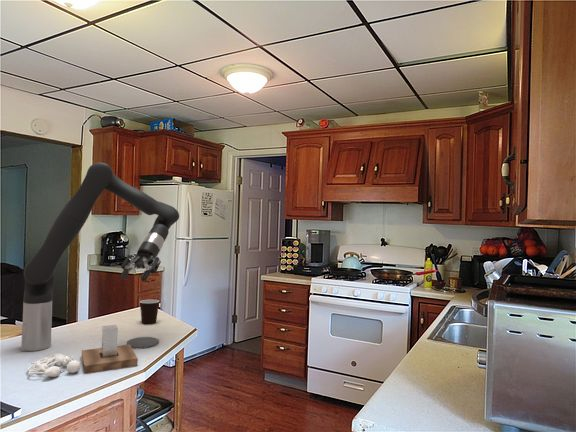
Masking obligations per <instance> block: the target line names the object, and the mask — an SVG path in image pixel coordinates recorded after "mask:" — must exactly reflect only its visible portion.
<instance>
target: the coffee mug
mask: <svg viewBox="0 0 576 432" xmlns="http://www.w3.org/2000/svg"><path fill="white" fill-rule="evenodd" d="M159 307H160V300H159V299H143V300H140V301H139V308H140V316H141V317H140V318H141V324H142V325H154V324H156V323H157V321H158V320H157V319H158V313H159Z"/></svg>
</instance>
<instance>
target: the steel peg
mask: <svg viewBox="0 0 576 432" xmlns="http://www.w3.org/2000/svg"><path fill="white" fill-rule="evenodd" d="M101 332H102V333H101V348H102V352H101V358H106V357H113V356H117V346H118V339H119V338H118V336H119V334H118V333H119V327H118V325H117V324H110V325H109V324H108V325H102V329H101Z"/></svg>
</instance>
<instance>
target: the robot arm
mask: <svg viewBox="0 0 576 432" xmlns="http://www.w3.org/2000/svg"><path fill="white" fill-rule="evenodd" d="M104 190H106V191H108V192H110V193H112V194H114V195H116V196H117V197H119V198H120V199H123V201H125V202H127V204H130V205H131V206H132V207H135V208H136V209H137V210H139V211H140V212H142V213H144V214H145V215H148V216H153V215H157V217H156V218H155V220H154V223H153V226H152V228H151V229H150V230H149V232H148V233H147V235H146V236H145V238H144V239H143V241H142V243H141V244H140V246H139V248H138V250H137V253H136V255H134V256H132V255H131V254H130V255H127V256H126V258H125V259H124V261H123V262H122V264H121V266H120V267H121V269H122V272H121V274H120V279H121V280H122V281H125V280H126V279H127V277H128V275H130V272H131V271H135V270H136V269H145V270H144V271H143V272H142V275H141V276H140V280H141V282H142V283H143V282H145V281H147V279H148V278H149V276H150V275H151V274H156V273H157V271H158V269H159V267H160V264H161V263H162V261H161V259H160V258H159V256H158V255H159V254H160V252H161V249H162V248H163V246H164V243H165V242H166V239H167V238H168V235H169V230H170V228H171V227H172V226H173V225H174V224H175V223H177V222H178V220H179V219H180V213H179V211H178V210H177V209H176V208H175V207H174V206H172V205H169V204H166V203H164V202H162V201H158V200H156V199H154V197H151V196H150V195H149V194H147V193H145V192H144V191H141V190H140V189H138V188H136V187H135V186H132V185H131V184H128V183H126V182H125V181H123V180H122V179H120V178H119V177H118V176H117V175H116V174H115V173H114V171H113V169H112V167H111V166H110V165H109V164H107V163H105V162H99V161H98V162H95V163H93V164H91V165H90V166H89V168H88V169H87V171H86V174H85V177H84V178H83V181H82V182H81V184H80V186H79V188H78V190H77V191H76V192H75V193H74V195H73V196H72V197H71V198H70V199H69V200H68V202H67V203H66V204H65V205H64V207H63V208H62V209H61V211H60V212H59V214H58V215H57V217H56V218H55V220H54V222H53V224H52V225H51V228H50V230H49V231H48V234H47V236H46V238H45V240H44V242H43V244H42V246H41V247H40V249H39V250H38V251H37V252H36V254H35V255H34V256H33V257H32V258H31V260H30V261H28V263H27V264H26V265H25V267H24V269H23V278H24V292H23V304H22V324H21V343H20V345H21V346H20V347H21V348H20V349H21V350H20V351H21V352H35V351H37V352H38V351H42V350H45V349H48V348H50V347H51V346H52V324H53V323H52V321H53V319H52V318H53V296H54V276H55V275H54V274H55V269H56V267H57V265H58V263H59V261H60V259H61V257H62V256H63V254H64V253H65V252H66V250H67V249H68V248H69V246H71V244H72V242H73V241H74V240H75V238H76V237H77V236H78V235H79V233H80V231H81V230H82V228H83V227H84V225H85V223H86V221H87V220H88V218H89V216H90V214H91V212H92V210H93V208H94V206H95V204H96V202H97V200H98V198H99V197H100V195H102V193H103V191H104Z"/></svg>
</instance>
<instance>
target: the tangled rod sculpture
mask: <svg viewBox="0 0 576 432" xmlns="http://www.w3.org/2000/svg"><path fill="white" fill-rule="evenodd" d="M73 359H74V356H71V357H70V356H67V355H65V354H62V353H55V354H51V355H49V356H48V357H47V356H45V357H43V358H40V359H38V360H36V361H32V362H31V366H29V367H28V368H27V369H26V371H27V372H28V375H36V374H41V375H44V376H45V377H50V378H56V377H58V376H59V375H60V373H63V372H64V371H63V370H61V368H60V367H61V366H66V371H67V372H68V373H71V374H74V373H75V374H76V373H77V372H78V371H79V370H80V367H81V364H82V361H78V360H75V359H74V360H73ZM53 365H54V366H53ZM49 366H51V367H49ZM33 367H34V368H33Z"/></svg>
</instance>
